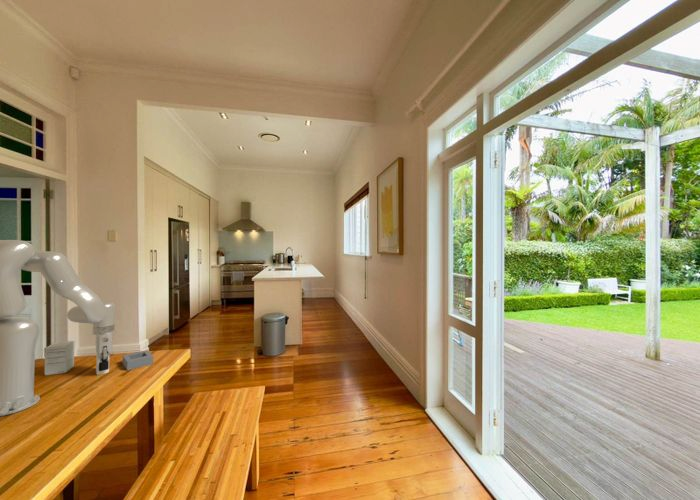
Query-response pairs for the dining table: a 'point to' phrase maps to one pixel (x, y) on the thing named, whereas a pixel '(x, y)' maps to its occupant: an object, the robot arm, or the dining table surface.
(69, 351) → the supplement box
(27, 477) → the dining table surface
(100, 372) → the peg
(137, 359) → the socket board
